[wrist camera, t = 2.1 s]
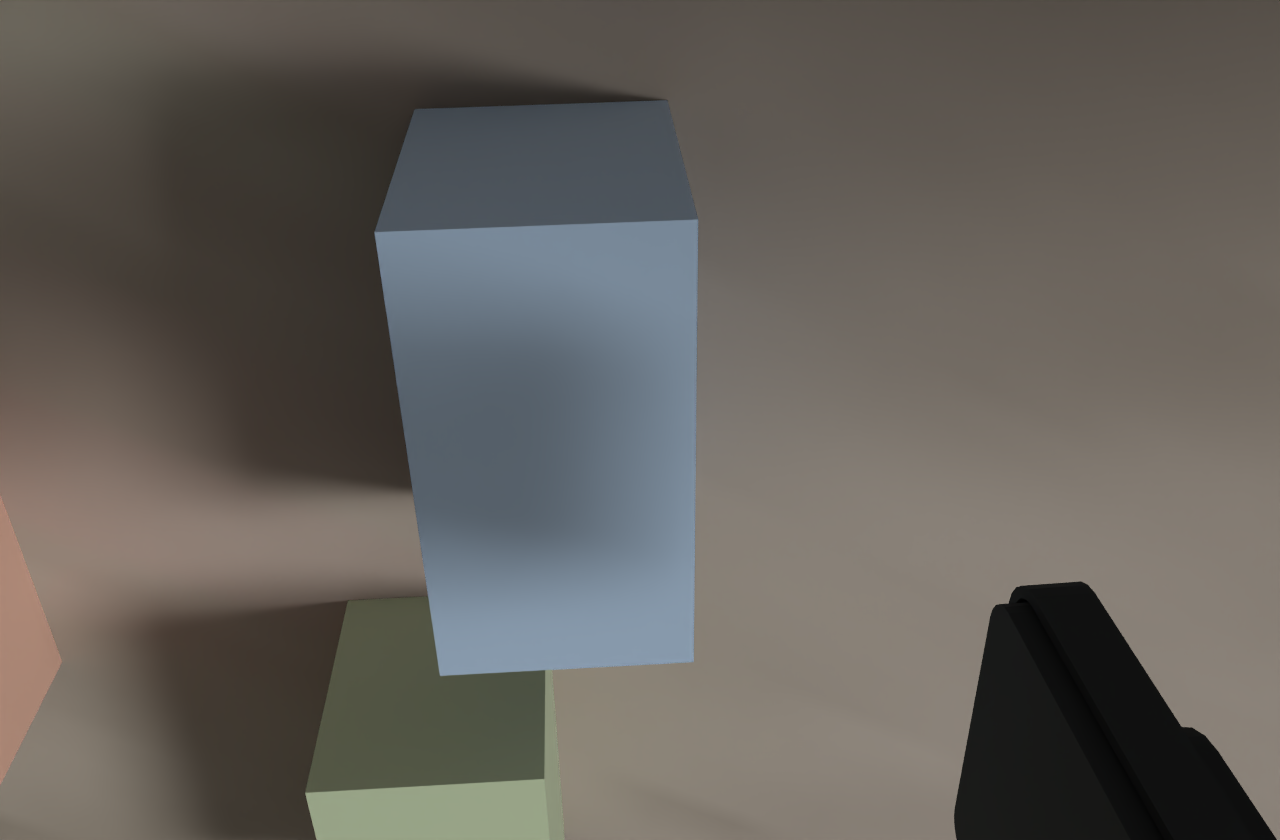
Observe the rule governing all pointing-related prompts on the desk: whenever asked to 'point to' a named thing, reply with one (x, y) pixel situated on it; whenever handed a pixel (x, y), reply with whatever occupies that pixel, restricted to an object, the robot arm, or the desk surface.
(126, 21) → the desk surface
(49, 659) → the terracotta brick
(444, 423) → the blue brick
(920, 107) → the desk surface
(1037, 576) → the desk surface
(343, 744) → the olive brick
